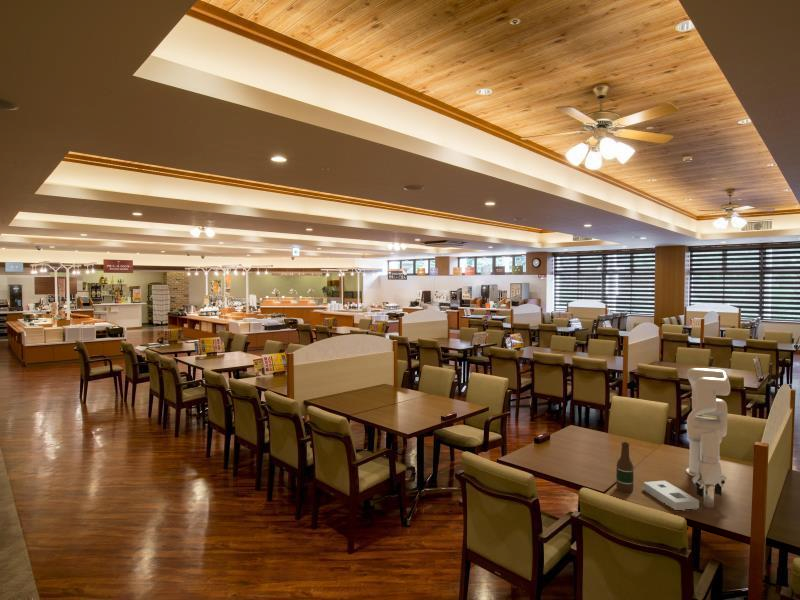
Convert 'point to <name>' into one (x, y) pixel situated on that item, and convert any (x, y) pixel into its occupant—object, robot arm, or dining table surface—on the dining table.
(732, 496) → the dining table surface
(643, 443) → the dining table surface
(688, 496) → the manifold block
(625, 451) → the beer bottle
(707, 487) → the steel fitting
